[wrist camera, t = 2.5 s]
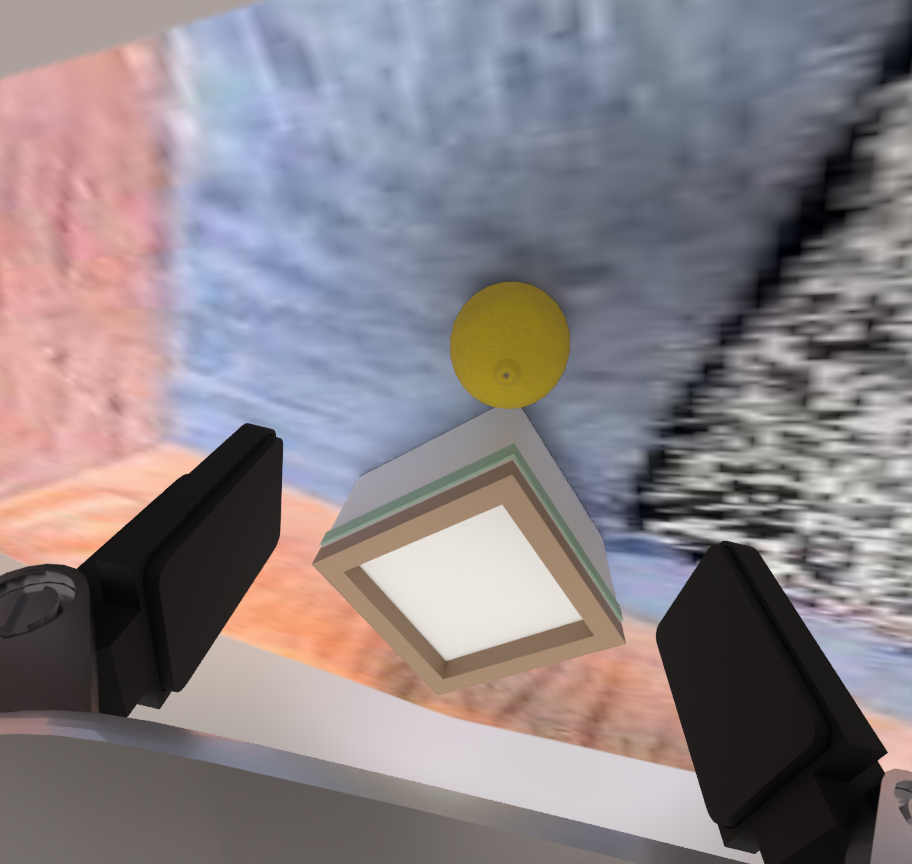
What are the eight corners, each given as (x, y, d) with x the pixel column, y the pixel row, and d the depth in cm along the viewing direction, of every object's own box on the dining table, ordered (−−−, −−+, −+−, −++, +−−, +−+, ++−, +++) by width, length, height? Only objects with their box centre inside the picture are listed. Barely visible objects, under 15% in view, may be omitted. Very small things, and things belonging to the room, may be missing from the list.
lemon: (546, 252, 23) (556, 283, 16) (574, 352, 26) (593, 417, 19) (445, 290, 25) (415, 333, 18) (480, 381, 27) (465, 451, 20)
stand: (604, 538, 31) (628, 644, 24) (454, 593, 36) (437, 696, 29) (515, 394, 27) (513, 471, 20) (357, 476, 32) (309, 563, 24)
